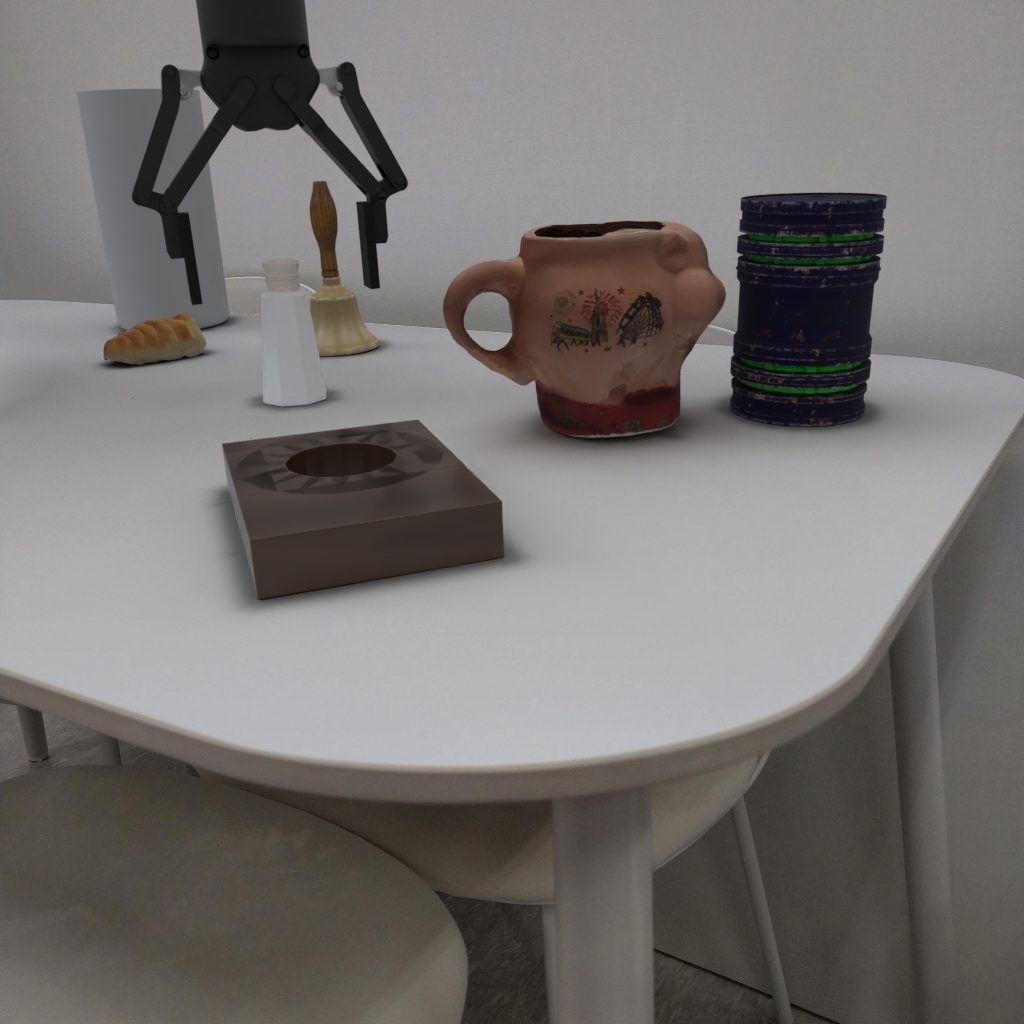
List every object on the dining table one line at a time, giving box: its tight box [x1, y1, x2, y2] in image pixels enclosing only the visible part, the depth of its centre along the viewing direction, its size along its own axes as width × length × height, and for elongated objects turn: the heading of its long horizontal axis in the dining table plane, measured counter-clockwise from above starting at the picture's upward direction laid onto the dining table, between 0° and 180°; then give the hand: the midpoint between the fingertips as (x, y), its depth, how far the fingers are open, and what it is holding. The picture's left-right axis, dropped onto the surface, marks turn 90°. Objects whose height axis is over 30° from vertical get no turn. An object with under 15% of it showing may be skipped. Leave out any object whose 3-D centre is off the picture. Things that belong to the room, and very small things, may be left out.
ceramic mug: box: [442, 220, 727, 439], centre depth 66 cm, size 20×12×14 cm, turn 113°
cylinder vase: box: [76, 88, 230, 331], centre depth 109 cm, size 12×12×25 cm
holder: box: [221, 419, 505, 600], centre depth 53 cm, size 16×12×3 cm
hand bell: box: [309, 180, 380, 357], centre depth 95 cm, size 8×8×16 cm
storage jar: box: [729, 192, 888, 427], centre depth 69 cm, size 10×10×15 cm
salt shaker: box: [260, 257, 328, 408], centre depth 77 cm, size 5×5×11 cm
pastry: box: [103, 314, 207, 366], centre depth 95 cm, size 9×7×4 cm
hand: (286, 295), depth 76 cm, fingers open, 13 cm apart
